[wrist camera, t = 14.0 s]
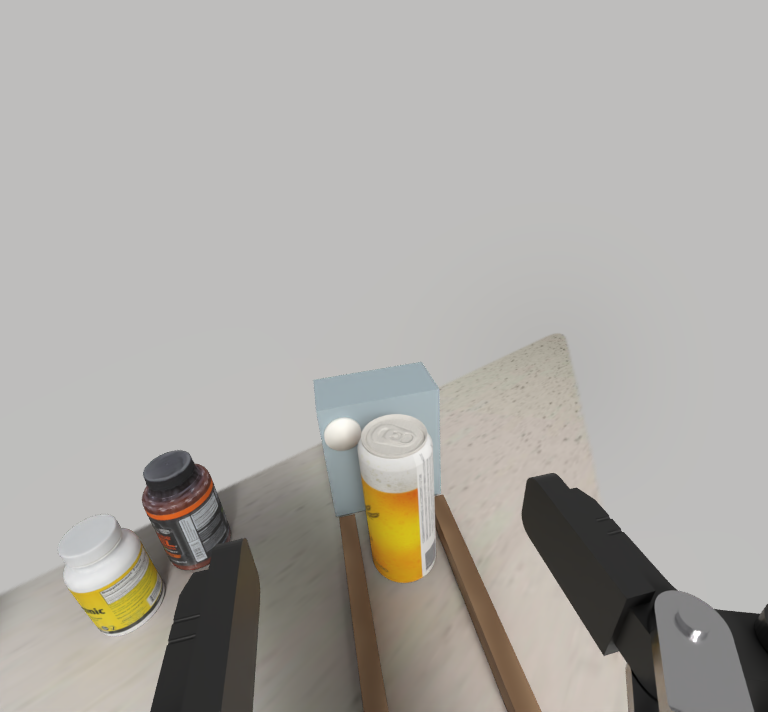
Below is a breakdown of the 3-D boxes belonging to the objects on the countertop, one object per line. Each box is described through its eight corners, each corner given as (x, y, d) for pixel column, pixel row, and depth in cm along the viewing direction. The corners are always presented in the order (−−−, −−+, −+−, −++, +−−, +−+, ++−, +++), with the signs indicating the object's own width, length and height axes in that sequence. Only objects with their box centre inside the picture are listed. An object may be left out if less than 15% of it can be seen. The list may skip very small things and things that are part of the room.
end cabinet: (336, 520, 42) (316, 414, 36) (331, 477, 48) (313, 380, 41) (442, 496, 44) (440, 391, 37) (425, 458, 49) (421, 361, 43)
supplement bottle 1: (90, 612, 35) (37, 539, 31) (152, 567, 39) (113, 496, 34) (111, 654, 32) (56, 579, 27) (176, 600, 35) (137, 526, 31)
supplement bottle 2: (159, 555, 40) (116, 472, 35) (210, 514, 44) (179, 435, 39) (192, 585, 37) (151, 498, 32) (244, 537, 41) (214, 454, 36)
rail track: (374, 785, 24) (371, 771, 23) (341, 531, 41) (339, 517, 40) (540, 730, 26) (543, 716, 25) (443, 507, 42) (443, 494, 41)
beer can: (389, 523, 41) (377, 405, 34) (444, 543, 39) (443, 419, 32) (361, 573, 36) (341, 448, 30) (422, 599, 34) (415, 468, 27)
